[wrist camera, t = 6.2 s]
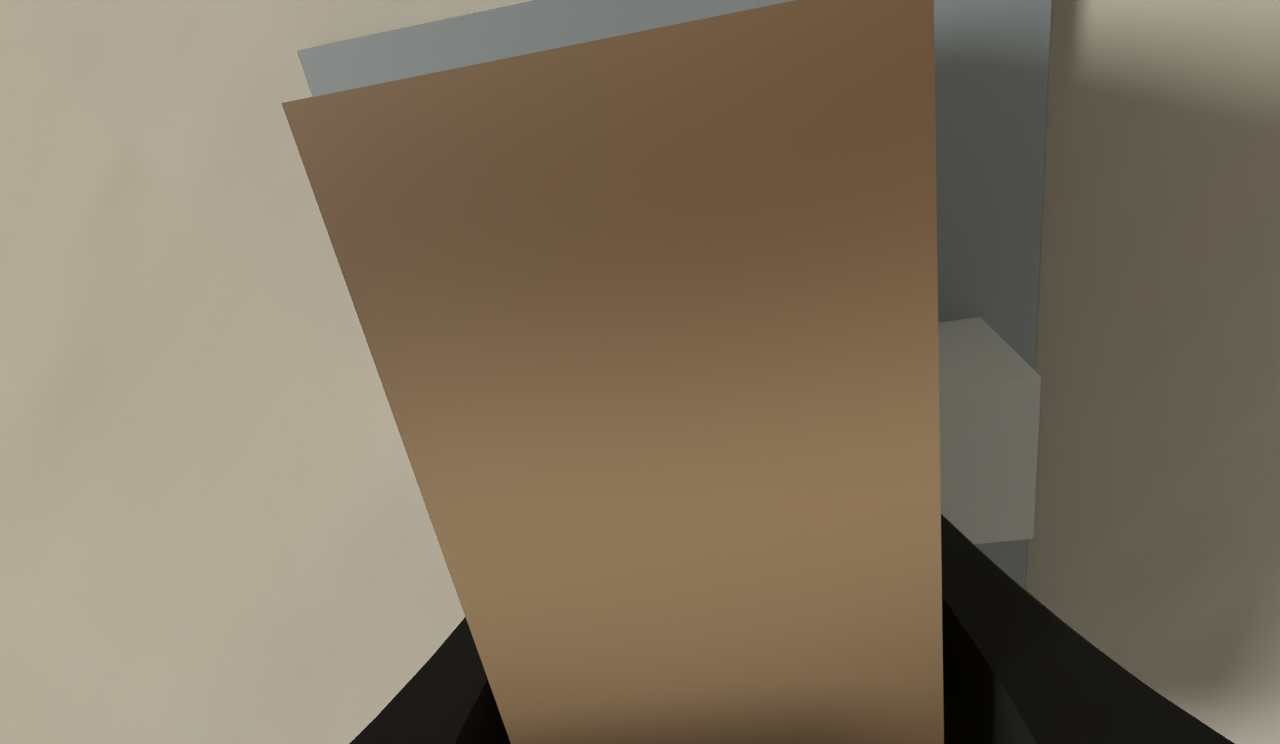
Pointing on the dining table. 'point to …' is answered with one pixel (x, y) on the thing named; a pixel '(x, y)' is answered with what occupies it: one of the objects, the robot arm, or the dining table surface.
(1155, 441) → the dining table surface
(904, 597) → the walnut bar
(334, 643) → the dining table surface
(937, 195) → the fulcrum
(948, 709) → the robot arm
